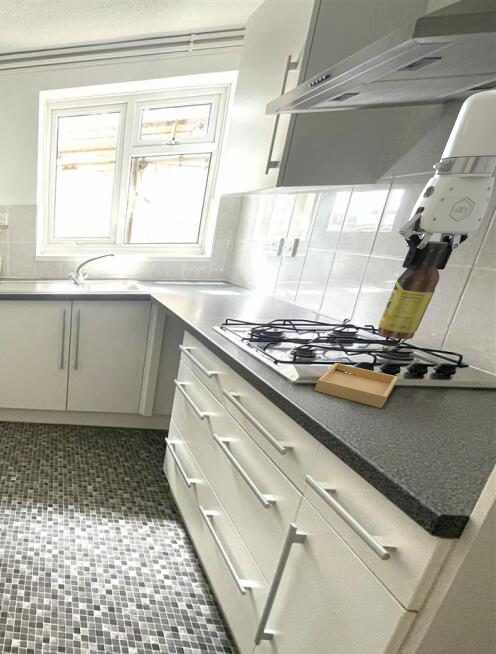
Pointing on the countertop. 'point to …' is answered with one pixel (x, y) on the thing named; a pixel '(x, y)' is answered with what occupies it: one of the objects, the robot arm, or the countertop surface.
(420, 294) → the sauce bottle
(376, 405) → the serving tray
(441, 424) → the countertop surface
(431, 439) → the countertop surface
